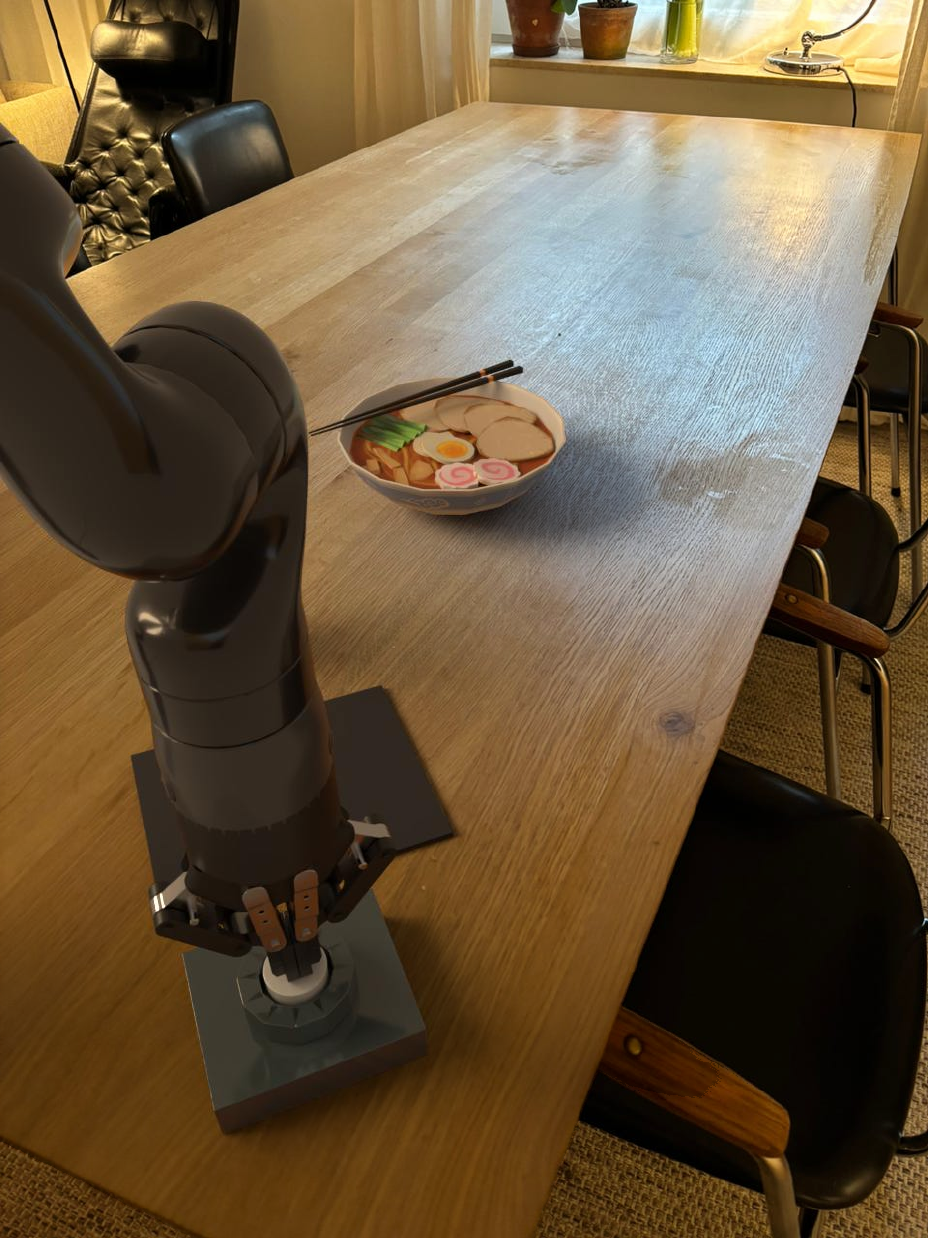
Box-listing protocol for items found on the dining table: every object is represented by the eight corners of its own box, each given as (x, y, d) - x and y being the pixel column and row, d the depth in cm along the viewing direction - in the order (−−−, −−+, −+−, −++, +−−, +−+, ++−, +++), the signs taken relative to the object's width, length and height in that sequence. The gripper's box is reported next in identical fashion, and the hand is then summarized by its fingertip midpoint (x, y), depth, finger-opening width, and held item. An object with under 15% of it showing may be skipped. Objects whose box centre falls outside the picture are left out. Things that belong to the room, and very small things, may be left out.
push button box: (223, 1135, 54) (206, 1094, 51) (191, 979, 61) (174, 934, 58) (428, 1054, 58) (425, 1011, 54) (375, 915, 65) (370, 869, 61)
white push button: (276, 1024, 55) (270, 1005, 54) (261, 969, 58) (256, 950, 57) (337, 1001, 56) (334, 982, 55) (320, 948, 59) (317, 929, 58)
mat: (164, 931, 64) (163, 928, 64) (131, 758, 75) (130, 755, 75) (453, 835, 69) (453, 832, 69) (381, 688, 81) (381, 684, 81)
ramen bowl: (402, 589, 91) (397, 515, 85) (296, 476, 105) (286, 407, 100) (616, 506, 101) (624, 435, 95) (492, 413, 115) (493, 347, 110)
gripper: (364, 667, 49) (386, 875, 60) (89, 743, 46) (167, 949, 57) (415, 775, 44) (429, 980, 55) (108, 870, 40) (190, 1070, 51)
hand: (295, 964), depth 56 cm, fingers closed
